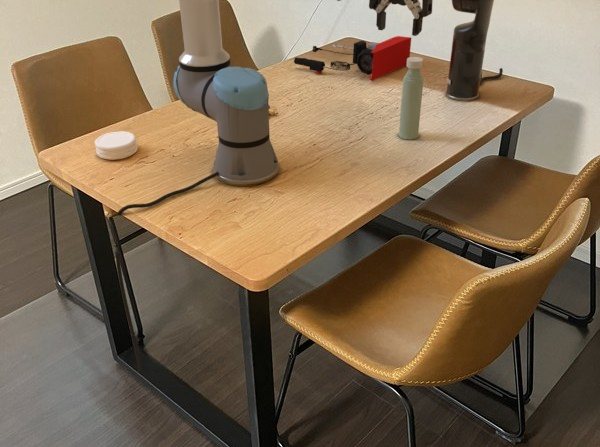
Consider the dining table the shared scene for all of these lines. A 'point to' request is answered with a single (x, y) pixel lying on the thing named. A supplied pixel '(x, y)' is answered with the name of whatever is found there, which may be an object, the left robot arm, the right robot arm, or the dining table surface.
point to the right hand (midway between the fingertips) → (398, 32)
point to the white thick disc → (116, 145)
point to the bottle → (411, 104)
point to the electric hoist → (368, 57)
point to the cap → (414, 62)
